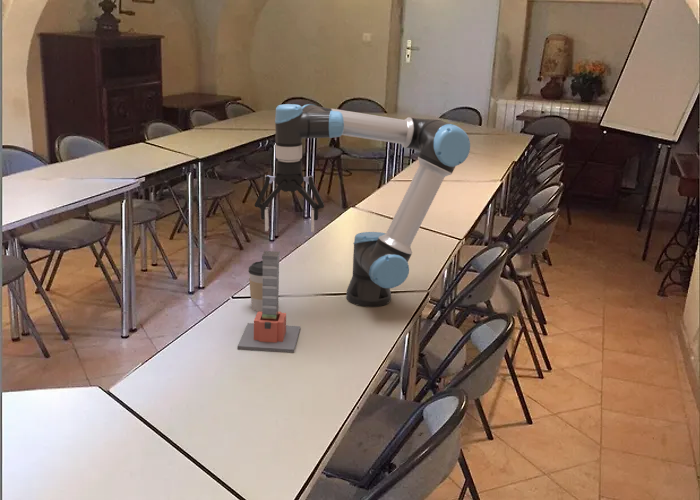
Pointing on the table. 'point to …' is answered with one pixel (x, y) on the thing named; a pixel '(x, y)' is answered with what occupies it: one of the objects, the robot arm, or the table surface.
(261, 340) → the stand
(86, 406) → the table surface
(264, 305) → the column
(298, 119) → the robot arm
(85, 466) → the table surface
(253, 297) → the coffee cup
